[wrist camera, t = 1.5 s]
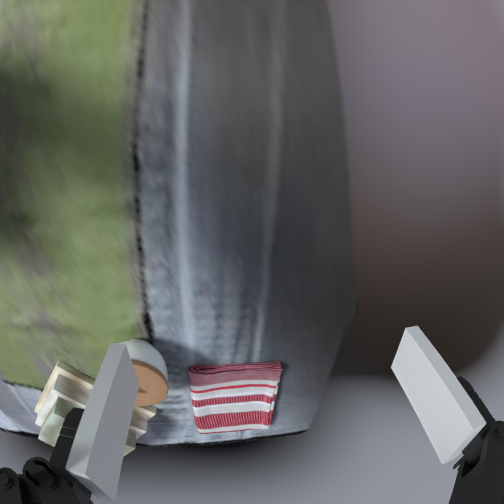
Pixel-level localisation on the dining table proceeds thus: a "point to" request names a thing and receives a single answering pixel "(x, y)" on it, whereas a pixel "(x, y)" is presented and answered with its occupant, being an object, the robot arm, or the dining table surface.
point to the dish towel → (234, 396)
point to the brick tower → (78, 405)
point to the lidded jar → (148, 372)
